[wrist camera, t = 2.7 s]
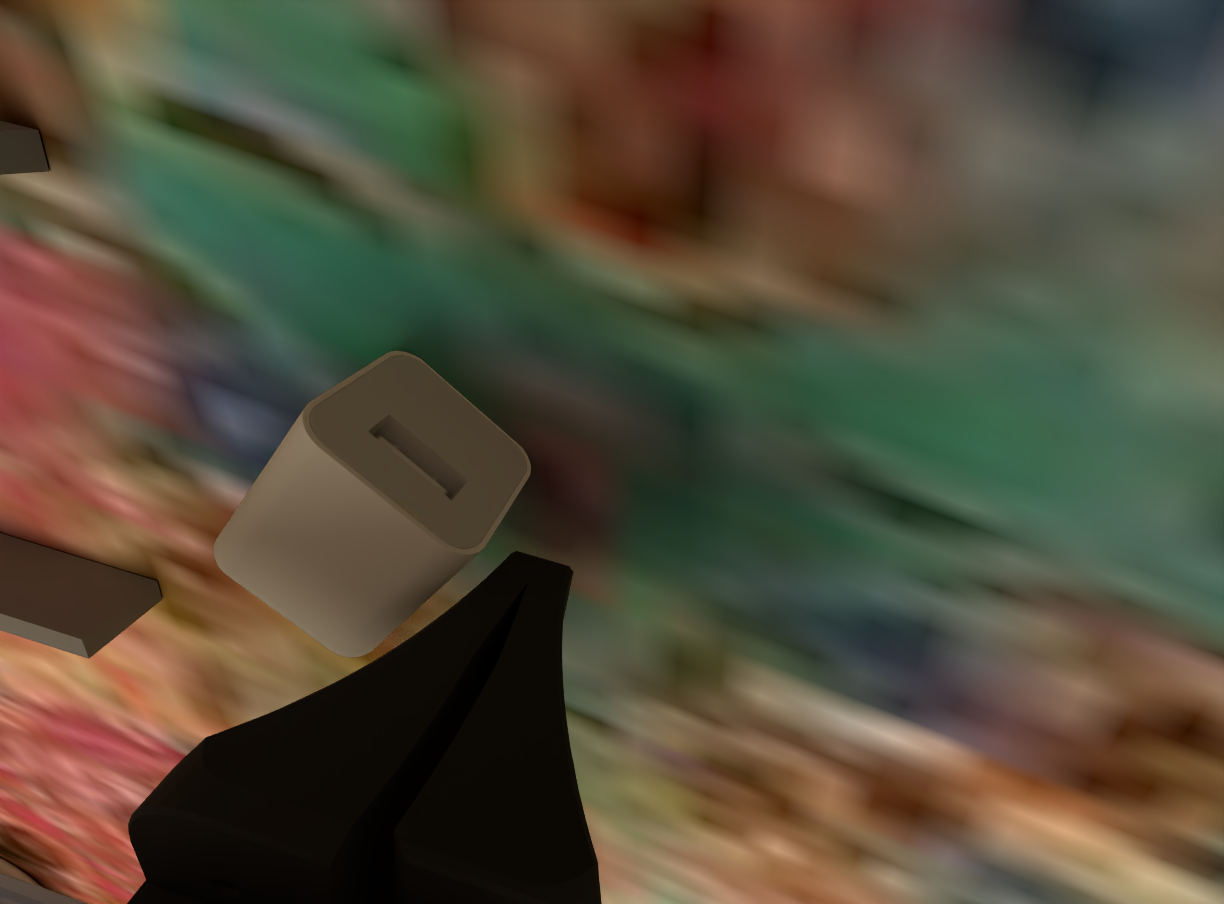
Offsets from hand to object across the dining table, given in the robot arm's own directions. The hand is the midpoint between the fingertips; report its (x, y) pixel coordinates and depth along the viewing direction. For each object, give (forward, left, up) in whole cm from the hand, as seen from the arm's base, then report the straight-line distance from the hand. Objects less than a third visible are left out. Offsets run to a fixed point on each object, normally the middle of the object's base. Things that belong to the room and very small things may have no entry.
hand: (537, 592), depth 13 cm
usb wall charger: (0, +4, -2) cm, 5 cm away
